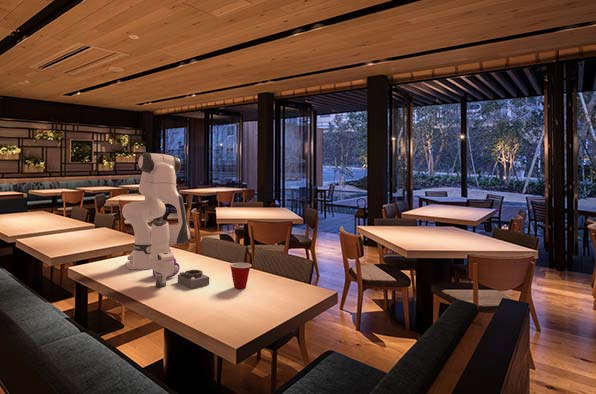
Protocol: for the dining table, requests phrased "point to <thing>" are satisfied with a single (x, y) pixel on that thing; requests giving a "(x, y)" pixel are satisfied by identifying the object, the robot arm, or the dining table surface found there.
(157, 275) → the lens
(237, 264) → the plastic cup
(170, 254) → the robot arm
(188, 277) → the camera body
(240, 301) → the dining table surface
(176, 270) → the purple box with triangle
